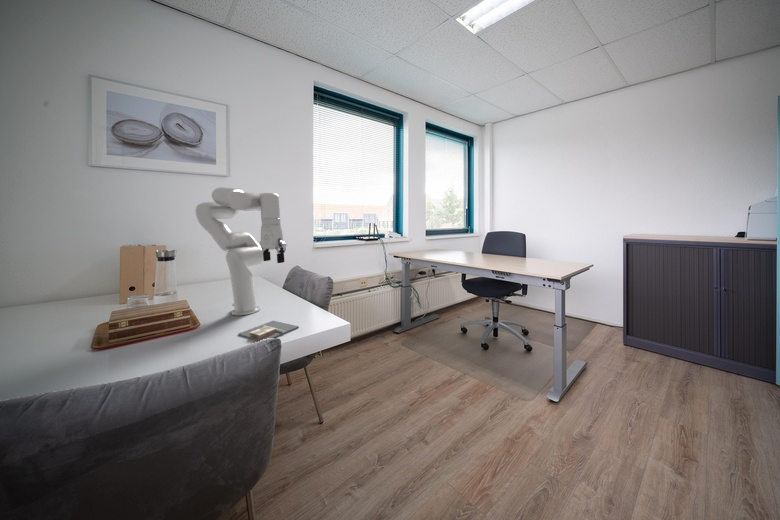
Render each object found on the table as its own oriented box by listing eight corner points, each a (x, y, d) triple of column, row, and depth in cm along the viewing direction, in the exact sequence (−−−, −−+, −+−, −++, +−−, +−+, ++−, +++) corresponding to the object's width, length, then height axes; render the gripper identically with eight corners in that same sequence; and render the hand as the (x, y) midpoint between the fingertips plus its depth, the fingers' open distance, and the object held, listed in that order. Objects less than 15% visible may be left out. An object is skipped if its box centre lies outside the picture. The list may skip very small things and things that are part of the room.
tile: (266, 330, 117) (250, 336, 111) (265, 326, 117) (249, 332, 111) (276, 332, 114) (260, 339, 108) (275, 328, 114) (259, 335, 108)
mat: (238, 335, 114) (237, 331, 114) (273, 321, 128) (272, 318, 128) (264, 342, 106) (263, 338, 106) (298, 327, 120) (298, 323, 119)
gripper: (251, 222, 128) (254, 261, 131) (276, 223, 118) (278, 264, 121) (266, 221, 134) (269, 258, 137) (291, 222, 125) (293, 262, 127)
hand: (273, 261), depth 129 cm, fingers open, 9 cm apart
